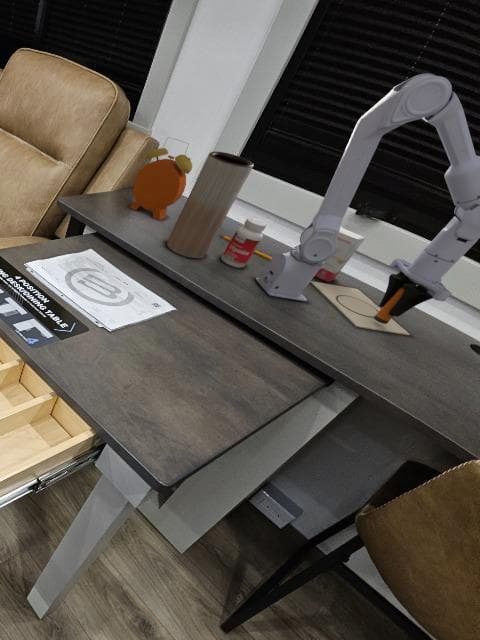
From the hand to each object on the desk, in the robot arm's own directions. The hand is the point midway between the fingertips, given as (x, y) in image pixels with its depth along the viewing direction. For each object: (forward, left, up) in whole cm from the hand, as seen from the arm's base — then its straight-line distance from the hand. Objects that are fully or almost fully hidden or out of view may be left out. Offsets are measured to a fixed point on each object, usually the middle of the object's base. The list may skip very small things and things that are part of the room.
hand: (388, 311), depth 101 cm
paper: (0, +8, -4) cm, 8 cm away
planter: (-38, +25, -4) cm, 45 cm away
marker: (0, 0, -2) cm, 2 cm away
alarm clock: (-42, +49, -4) cm, 64 cm away
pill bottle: (-26, +22, -4) cm, 34 cm away
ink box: (-2, +24, -4) cm, 24 cm away
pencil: (-16, +32, -4) cm, 36 cm away
